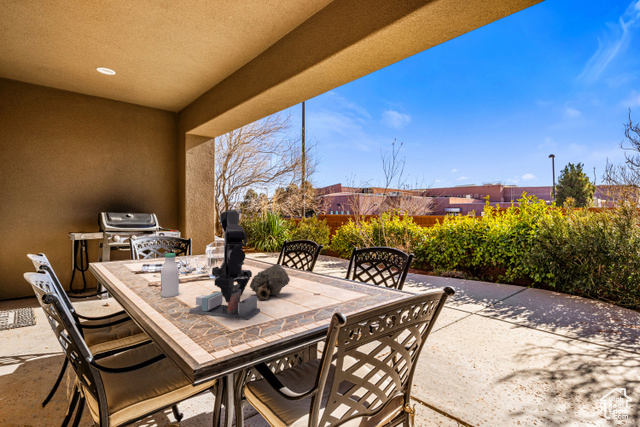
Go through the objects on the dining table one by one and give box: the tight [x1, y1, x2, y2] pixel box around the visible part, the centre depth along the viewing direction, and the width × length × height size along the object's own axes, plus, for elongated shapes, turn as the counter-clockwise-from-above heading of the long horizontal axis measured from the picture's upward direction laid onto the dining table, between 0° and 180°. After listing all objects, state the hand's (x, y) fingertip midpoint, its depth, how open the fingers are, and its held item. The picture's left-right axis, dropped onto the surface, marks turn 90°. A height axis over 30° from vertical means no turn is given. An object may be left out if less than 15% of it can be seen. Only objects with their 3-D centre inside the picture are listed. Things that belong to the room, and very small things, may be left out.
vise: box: [188, 295, 261, 321], centre depth 124 cm, size 10×26×6 cm, turn 75°
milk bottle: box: [160, 252, 180, 298], centre depth 148 cm, size 8×8×20 cm
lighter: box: [227, 283, 242, 313], centre depth 123 cm, size 8×3×10 cm, turn 169°
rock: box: [249, 263, 291, 301], centre depth 147 cm, size 18×14×15 cm
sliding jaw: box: [195, 291, 223, 311], centre depth 126 cm, size 10×8×5 cm
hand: (234, 299), depth 123 cm, fingers open, 9 cm apart
